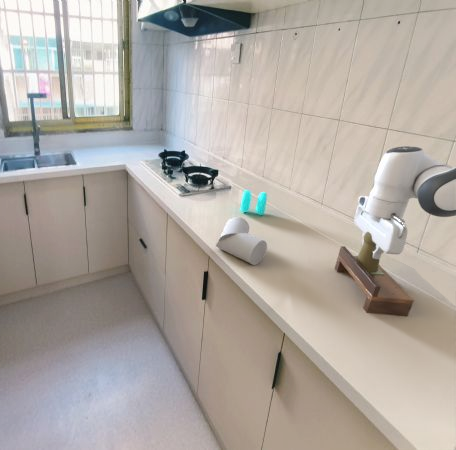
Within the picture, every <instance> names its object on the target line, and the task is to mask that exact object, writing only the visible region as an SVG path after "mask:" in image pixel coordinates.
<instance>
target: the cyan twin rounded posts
mask: <svg viewBox="0 0 456 450" xmlns="http://www.w3.org/2000/svg"><path fill="white" fill-rule="evenodd" d="M267 200H268V194H267V192H265V191H262V192H260V193H259V194H258V197H257V201H256V207H255V212H256V214H257V215H258V216H263V215H264V214H265V212H266V206H267ZM251 201H252V193H251V191H250V190H249V189H245V190H244V191H243V193H242V197H241V203H240V211H242V212H241V213H243V212H246V213H248V212H249V210H250V207H251Z"/></svg>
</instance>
